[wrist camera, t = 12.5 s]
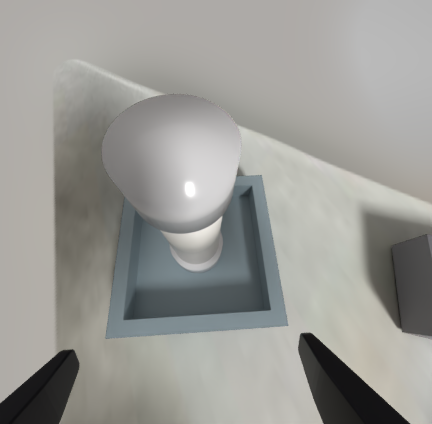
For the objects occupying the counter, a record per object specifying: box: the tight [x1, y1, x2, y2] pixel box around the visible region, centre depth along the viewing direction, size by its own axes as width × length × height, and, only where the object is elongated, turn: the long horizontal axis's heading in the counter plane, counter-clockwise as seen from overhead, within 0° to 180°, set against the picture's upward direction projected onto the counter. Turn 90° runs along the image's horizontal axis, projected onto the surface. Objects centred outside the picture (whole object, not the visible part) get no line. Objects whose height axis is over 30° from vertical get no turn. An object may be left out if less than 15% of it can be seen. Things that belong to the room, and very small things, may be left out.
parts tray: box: [105, 175, 288, 339], centre depth 17 cm, size 12×12×3 cm
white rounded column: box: [101, 94, 242, 273], centre depth 12 cm, size 4×4×13 cm
